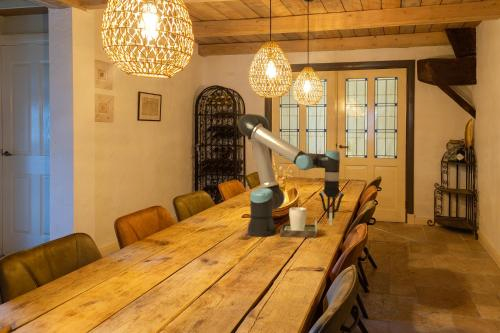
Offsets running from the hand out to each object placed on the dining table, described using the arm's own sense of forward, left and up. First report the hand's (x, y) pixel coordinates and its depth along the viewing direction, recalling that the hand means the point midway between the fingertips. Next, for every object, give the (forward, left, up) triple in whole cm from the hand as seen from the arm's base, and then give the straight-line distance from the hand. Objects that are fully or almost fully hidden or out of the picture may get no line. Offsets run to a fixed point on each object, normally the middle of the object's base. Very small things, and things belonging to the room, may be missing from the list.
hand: (330, 224), depth 236 cm
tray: (-16, -1, -5) cm, 16 cm away
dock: (-17, -1, -5) cm, 18 cm away
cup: (-17, -1, -4) cm, 18 cm away
